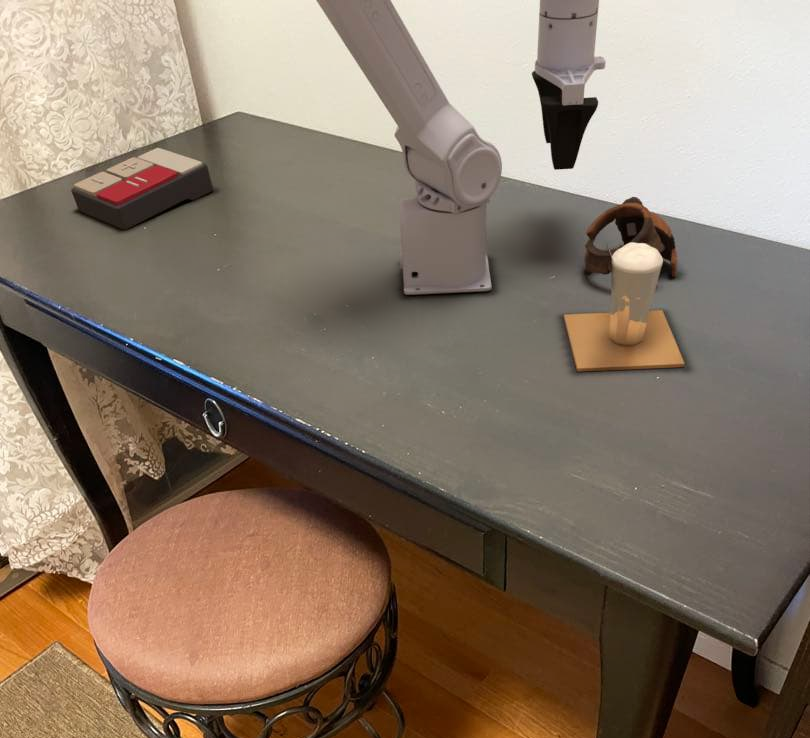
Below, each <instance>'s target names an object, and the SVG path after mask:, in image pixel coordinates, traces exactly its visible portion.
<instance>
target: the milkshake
mask: <svg viewBox="0 0 810 738" xmlns="http://www.w3.org/2000/svg"><path fill="white" fill-rule="evenodd" d="M605 244H606V247H607V250H609V253H610V250H611V249H610V247H609V244H608V242H607V241H605ZM622 246H623V247H622V248H620V249H618V250H617V251H616V252H615V253H614V254H613V256H612V255H611V253H610V256H611V259H612V273H610V274H611V275H610V276H611V277H610V279H611V282H610V284H611V288H610V289H611V299H610V302H611V303H610V312H611V317H610V339H611V340H612V341H613V342H615V343H616V344H621V345H625V346H627V345H636V344H637V343H639V342H641V341H642V340H643V336H644V332H645V328H646V324H647V320H648V315H649V311H651V307H652V303H653V299H654V295H655V292H656V288H657V284H658V281H659V278H660V274H661V270H662V267H663V263H664V258H662V256H661V255H660V253H659V252H658V250H657V249H655V248H653V247H651V246H649V245H647V244H645V243H634V242H631V243H628V244H626V245H625V246H624V245H622Z"/></svg>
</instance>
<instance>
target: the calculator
mask: <svg viewBox="0 0 810 738" xmlns="http://www.w3.org/2000/svg"><path fill="white" fill-rule="evenodd" d="M73 186H74V187H72V188H71V189H70V192H71V194H72V197H73V199H74V203H75V205H76V207H77V209H78V212H81V213H83V214H86V215H87V216H90V217H93V218H95V219H97V220H100V221H102V222H104V223H106V224H109V225H111V226H114V227H116V228H118V229H121V230H123V231H126V230H129V229H130V228H132V227H134V226H136V225H139V224H140V223H142V222H144V221H147V220H148V219H150V218H152V217H154V216H156V215H159V214H160V213H162V212H165V210H168V209H171V208H172V207H174V206H176V205H178V204H180V203H182V202H184V201H185V200H189V201H195V200H197V199H199V198H201V197H203V196H205V195H207V194H209V193H212V192H213V191H214V185H213V182H212V179H211V174H210V171H209V167H208V164H207V163H204V162H202V161H200V160H197V159H194V158H191V157H188V156H186V155H182V154H179V153H175V152H173V151H171V150H167V149H164V148H161V147H156V148H154V149H151V150H149V151H147V152H145V153H143V154H140V155H138V156H137V157H134V156H133V157H130V158H128V159H126V160H124V161H122V162H120V163H116V164H115V165H112V166H111V167H109V168H107V169H106V171H100V172H97V173H96V174H93V175H91V176H89V177H86V178H85V179H83V180H80V181H78V182H76V183H74V184H73Z"/></svg>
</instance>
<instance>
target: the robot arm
mask: <svg viewBox="0 0 810 738" xmlns="http://www.w3.org/2000/svg"><path fill="white" fill-rule="evenodd" d="M315 1H316V2H317V4H318V6H319V7H320V8H321V10H322V11H323V13H324V15H325V16H326V18H327V20H328V21H329V22H330V24H331V25H332V27H333V28H334V30H335V32H336V34H337V35H338V36H339V38H340V39H341V41H342V42H343V44H344V45H345V47H346V49H347V50H348V51H349V53H350V55H351V56H352V58H353V60H354V61H355V63H356V64H357V65H358V67H359V68H360V70H361V71H362V73H363V75H364V76H365V78H366V79H367V81H368V83H369V84H370V85H371V87H372V89H373V90H374V92H375V93H376V95H377V96H378V98H379V99H380V101H381V102H382V104H383V106H384V107H385V108H386V110H387V112H388V113H389V115H390V116H391V117H392V119H393V121H394V122H395V124H396V126H397V127H396V129H395V132H394V138H395V139H396V141H397V142H398V144H399V146H400V148H401V151H402V159H403V165H404V168H405V169H406V170H405V171H406V172H407V174H408V175H409V176H410V177H411V178H412V179H413V180H415V182H414V183H415V192H416V194H417V195H416V196H412V197H409V198H403V199H400V200H399V225H400V226H399V227H400V228H399V229H400V244H401V251H399V268H400V269H401V270H402V278H403V294H405V295H407V296H413V295H416V296H417V295H432V294H433V295H434V294H435V295H436V294H452V293H453V294H455V293H474V292H475V293H476V292H478V293H479V292H489V291H491V290H492V281H491V273H490V266H489V257H488V255H487V204H489V203H490V198H491V197H492V196H493V194H494V192H495V191H496V190H497V187H498V186H499V184H500V181H501V176H502V172H503V162H502V157H501V154H500V152H499V150H498V149H497V147H496V146H495V145H494V144H492V142H489V141H487V140H484V139H483V138H482V137H481V136H480V135H479V133H478V132H477V130H476V129H475V126H473V124H472V123H471V122H470V121H469V120H468V119H466V118H465V116H464V115H462V114H461V113H460V112H459V111H458V110H457V109H456V108H455V106H453V104H451V103H450V101H449V100H448V98H447V96H446V95H445V92H444V91H443V89H442V88H441V85H440V84H439V82H438V81H437V78H436V77H435V75H434V74H433V71H432V70H431V68H430V67H429V65H428V63H427V61H426V60H425V58H424V56H423V55H422V53H421V51H420V49H419V47H418V45H417V44H416V42H415V40H414V38H413V37H412V35H411V33H410V32H409V30H408V28H407V26H406V24H405V23H404V21H403V20H402V17H401V16H400V14H399V12H398V10H397V9H396V7H395V6H394V3H393V2H392V1H391V0H315ZM599 5H600V0H539V10H538V11H539V13H538V32H537V52H536V53H537V55H536V56H537V57H536V58H537V59H536V60H535V62H534V70H533V71H532V72H531V76H532V79H533V81H534V84H535V86H536V89H537V93H538V96H539V102H540V109H541V118H542V129H543V134H544V135H543V136H544V139H545V143H546V144H550V156H551V162H552V163H551V164H552V167H553V169H554V170H555V171H558V170H572V169H574V167H575V165H576V162H577V159H578V155H579V153H580V149H581V145H582V142H583V137H584V134H585V133H586V130H587V127H588V125H589V122H590V121H591V119H592V117H593V116H594V114H595V113H596V112H597V109H598V105H599V100H598V98H597V96H594V97H593V96H592V97H585V89H586V86H585V85H586V84H587V82H588V81H589V79H590V78H591V76H592V75H593V73H594V72H595V71H596V70H597V71H598V70H604V69H605V68H606V62H607V61H606V59H605V57H604V56H595V52H596V51H595V50H596V40H597V27H598V17H599V8H600V6H599Z"/></svg>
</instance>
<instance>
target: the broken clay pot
mask: <svg viewBox="0 0 810 738" xmlns="http://www.w3.org/2000/svg"><path fill="white" fill-rule="evenodd" d="M613 222H614V224H615V226H616V227H617V228H616V229H617V230H618V232H619V233H620V237H621V241H622V243H623V245H621V246H619V247H616V248H614V249H609V250H610V253H611V255H612V256H613V254H614V253H615V252H616V251H617V250H618V249H620V248H622V247H623V246H625V245H626V244H628V243H631V242H634V243H645V244H647V245H649V246H651V247H653V248H655V249H657V250H658V252H659V253H660V255H661V256H662V258H663V260H666V261H669V262H670V263H669V264H670V265H669V266H670V267H671V277H672V278H675V277H677V274H678V265H677V264H678V253H677V250H676V241H675V237H674V235H673V233H672V230H671V227H670V226H669V224H668V223H667V222H666V221H665V220H664V219H663V218H662V217H661V216H659V215H657V214H656V213H655V212H652V211H650V210H649V209H648V208H647V206H645V205H644V204H643V201H641V199H640V198H639V197H637V196H631V197H629V198H626V199H624V201H623V202H622V203H621V204H617V205H614V206H613V207H610V208H608V209H607V210H606V211H603V212H602V213H601V214H600V215H599V216H598V217H596V218H595V220H594V221H593V222H592V223H591V224H590V226H589V227H588V229H587V231H586V236H587V238H588V240H587V241H586V243H585V245H584V247H585V254H584V265H585V270H586V272H587V273H591V272H593V273H596V274H601V275H604V276H605V275H606V276H607V275H610V274H612V259H611V256H610V253H609V250H608V249H606V250H604V249H600V248H598V247H596V246H595V244H594V242H595V239H596V238H597V236H598V235H599V234H600V233H601V231H603V230H604V228H606V227H607V226H608V225H610V224H611V223H613Z"/></svg>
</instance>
